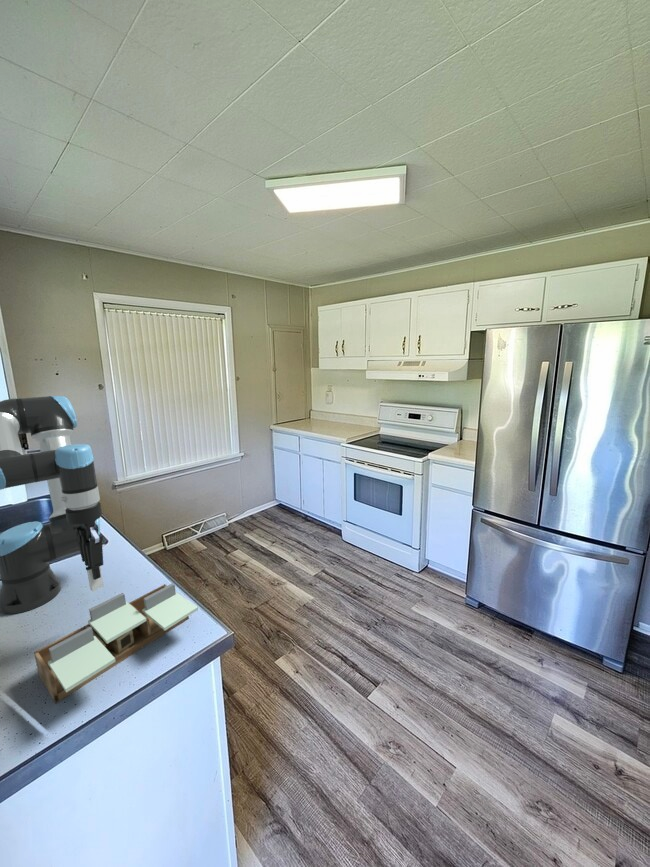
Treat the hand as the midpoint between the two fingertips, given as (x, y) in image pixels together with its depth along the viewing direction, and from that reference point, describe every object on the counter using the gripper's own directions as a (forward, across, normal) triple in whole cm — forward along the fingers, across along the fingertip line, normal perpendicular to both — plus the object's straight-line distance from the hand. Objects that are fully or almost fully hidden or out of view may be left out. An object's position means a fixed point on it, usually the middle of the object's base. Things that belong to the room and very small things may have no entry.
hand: (97, 587), depth 95 cm
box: (+13, +10, 0) cm, 17 cm away
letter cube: (+12, +11, 0) cm, 16 cm away
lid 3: (+6, +18, +10) cm, 21 cm away
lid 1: (+6, +18, -10) cm, 21 cm away
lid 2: (+6, +11, 0) cm, 12 cm away
